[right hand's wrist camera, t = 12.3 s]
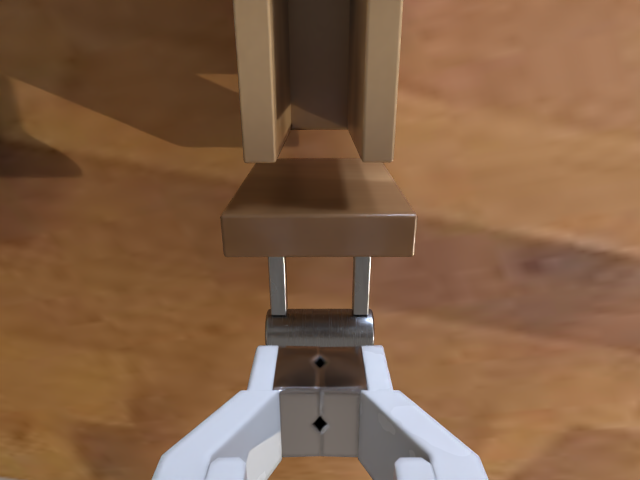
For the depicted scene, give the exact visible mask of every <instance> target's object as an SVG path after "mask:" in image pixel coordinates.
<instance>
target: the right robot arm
mask: <svg viewBox="0 0 640 480" xmlns="http://www.w3.org/2000/svg"><path fill="white" fill-rule="evenodd" d="M305 456H334V457H358V460H359V461H360V462H361V464H362V465H363V466H364V468H365V469H366V471H367V472H368V473H369V475H370V476H371V477H372V479H373V480H489V479H488V477H487V475H486V472H485V470H484V467H483V465H482V462H481V460H480V457H479V456H478V455H477V454H476V453H475V452H473V451H472V450H471V449H470V448H468V447H467V446H466V445H465V444H464V443H462V442H461V441H460V440H459V439H458V438H456V437H455V436H454V435H453V434H452V433H450V432H449V431H448V430H447V429H445V428H444V427H443V426H442V425H441V424H439V423H438V422H437V421H436V420H435V419H433V418H432V417H431V416H430V415H428V414H427V413H426V412H425V411H424V410H422V409H421V408H420V407H419V406H418V405H416V404H415V403H414V402H413V401H412V400H410V399H409V398H408V397H407V396H405V395H404V394H403V393H402V392H401V391H399V390H393V387H392V383H391V379H390V374H389V370H388V366H387V361H386V357H385V353H384V349H383V347H382V346H381V345H372V346H351V347H320V346H278V345H275V346H258V347H257V349H256V352H255V357H254V361H253V365H252V370H251V374H250V379H249V383H248V387H247V390H241V391H239V392H238V393H237V394H236V395H235V396H233V397H232V398H231V399H230V400H228V401H227V402H226V403H225V404H224V405H222V406H221V407H220V408H219V409H217V410H216V411H215V412H214V413H213V414H211V415H210V416H209V417H208V418H207V419H205V420H204V421H203V422H202V423H200V424H199V425H198V426H197V427H196V428H194V429H193V430H192V431H191V432H190V433H188V434H187V435H186V436H185V437H183V438H182V439H181V440H180V441H179V442H177V443H176V444H175V445H174V446H172V447H171V448H170V449H169V450H168V451H166V452H165V453H164V454H163V455H162V456H161V458H160V460H159V463H158V465H157V468H156V470H155V472H154V475H153V477H152V480H267V479H268V478H269V477H270V475H271V474H272V472H273V471H274V470H275V468H276V467H277V466H278V464H279V463H280V461H281V460H282V457H305Z"/></svg>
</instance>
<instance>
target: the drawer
mask: <svg viewBox="0 0 640 480" xmlns="http://www.w3.org/2000/svg"><path fill="white" fill-rule="evenodd" d="M233 11H234V25H235V40H236V55H237V69H238V84H239V99H240V113H241V128H242V143H243V157H244V162H245V163H256V164H255V165H254V167H253V168H252V170H251V171H250V173H249V174H248V176H247V177H246V179H245V180H244V182H243V183H242V185H241V186H240V188H239V189H238V191H237V192H236V194H235V195H234V197H233V198H232V200H231V201H230V203H229V204H228V206H227V207H226V208H225V210H224V211H223V213H222V214H221V217H220V219H221V230H222V241H223V252H224V255H225V257H268V267H269V286H270V305H271V309H269V310H268V311H267V315H266V323H265V344H266V346H275V345H278V346H320V347H351V346H372V345H374V318H373V312H372V310H371V309H369V292H370V269H371V257H412V256H413V255H414V253H415V241H416V229H417V214H416V213H415V211H414V210H413V208H412V207H411V205H410V203H409V202H408V200H407V199H406V197H405V196H404V194H403V193H402V191H401V190H400V188H399V187H398V185H397V184H396V182H395V180H394V179H393V177H392V176H391V174H390V173H389V171H388V170H387V168H386V167H385V165H384V164H383V162H392V161H393V159H394V144H395V127H396V111H397V94H398V78H399V61H400V44H401V28H402V11H403V0H233ZM290 130H348V131H349V133H350V135H351V137H352V140H353V142H354V144H355V146H356V149H357V151H358V153H359V155H360V158H306V159H277V158H278V156H279V154H280V152H281V150H282V147H283V145H284V143H285V141H286V139H287V137H288V135H289V133H290ZM286 257H353V286H352V309H287V308H288V304H287V275H286Z"/></svg>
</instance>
